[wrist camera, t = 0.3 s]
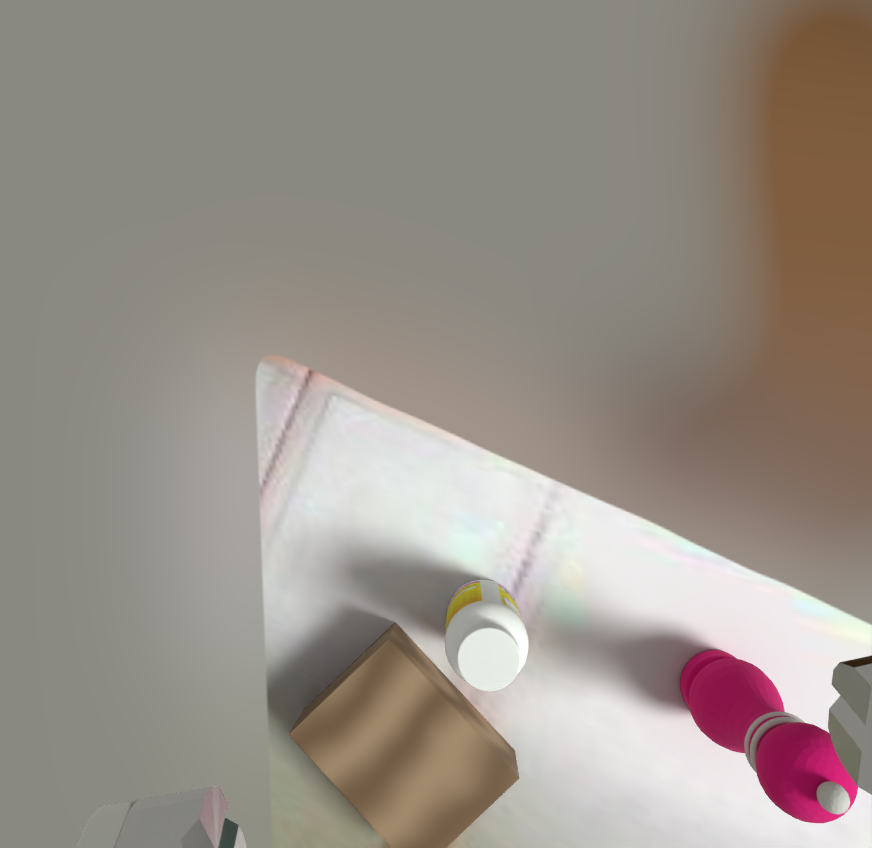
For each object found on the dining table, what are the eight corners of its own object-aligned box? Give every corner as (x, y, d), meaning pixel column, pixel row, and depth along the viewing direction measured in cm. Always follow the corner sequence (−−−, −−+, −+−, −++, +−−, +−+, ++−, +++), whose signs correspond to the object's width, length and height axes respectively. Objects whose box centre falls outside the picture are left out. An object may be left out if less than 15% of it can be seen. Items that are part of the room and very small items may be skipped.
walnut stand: (514, 750, 60) (519, 778, 55) (420, 839, 60) (416, 875, 55) (395, 622, 61) (389, 638, 56) (303, 710, 61) (288, 734, 56)
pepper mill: (770, 677, 59) (927, 796, 39) (722, 740, 59) (854, 891, 39) (705, 628, 59) (828, 720, 39) (657, 690, 59) (756, 814, 39)
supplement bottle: (439, 639, 60) (433, 692, 48) (455, 570, 61) (453, 603, 48) (509, 657, 60) (522, 715, 47) (526, 587, 60) (542, 626, 47)
